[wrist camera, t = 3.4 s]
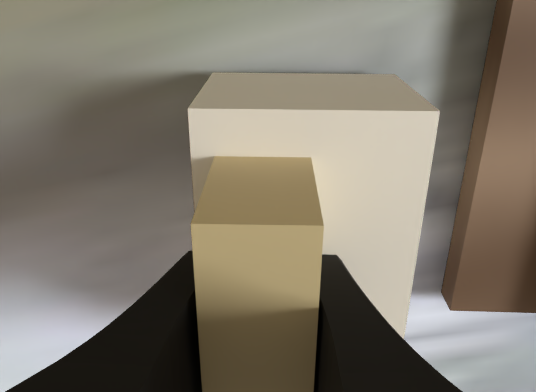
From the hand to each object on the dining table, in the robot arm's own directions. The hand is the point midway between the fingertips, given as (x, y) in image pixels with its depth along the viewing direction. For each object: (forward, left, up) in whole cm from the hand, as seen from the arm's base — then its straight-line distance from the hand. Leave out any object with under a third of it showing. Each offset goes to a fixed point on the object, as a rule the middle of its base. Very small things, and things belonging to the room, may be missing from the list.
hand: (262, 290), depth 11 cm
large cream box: (0, -1, -4) cm, 5 cm away
